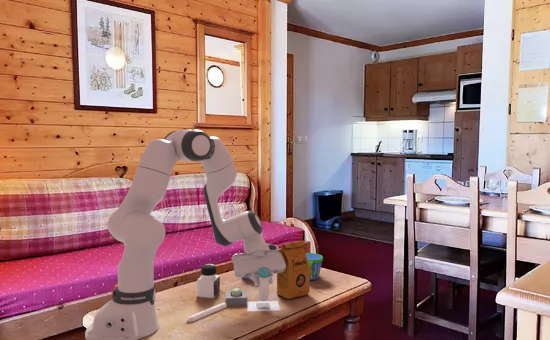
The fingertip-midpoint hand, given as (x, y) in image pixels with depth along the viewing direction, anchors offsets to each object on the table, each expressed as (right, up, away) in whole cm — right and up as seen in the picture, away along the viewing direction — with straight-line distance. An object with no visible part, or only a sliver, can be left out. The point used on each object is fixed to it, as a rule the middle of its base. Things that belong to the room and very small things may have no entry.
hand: (264, 284), depth 157 cm
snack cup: (+20, -7, +34) cm, 40 cm away
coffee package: (+11, -8, +13) cm, 19 cm away
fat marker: (0, -6, +1) cm, 6 cm away
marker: (-20, -9, -7) cm, 24 cm away
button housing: (-11, -8, +6) cm, 15 cm away
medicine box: (-7, -6, +32) cm, 33 cm away
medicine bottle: (-23, -8, +12) cm, 27 cm away
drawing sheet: (0, -9, +1) cm, 9 cm away
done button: (-11, -6, +5) cm, 14 cm away
